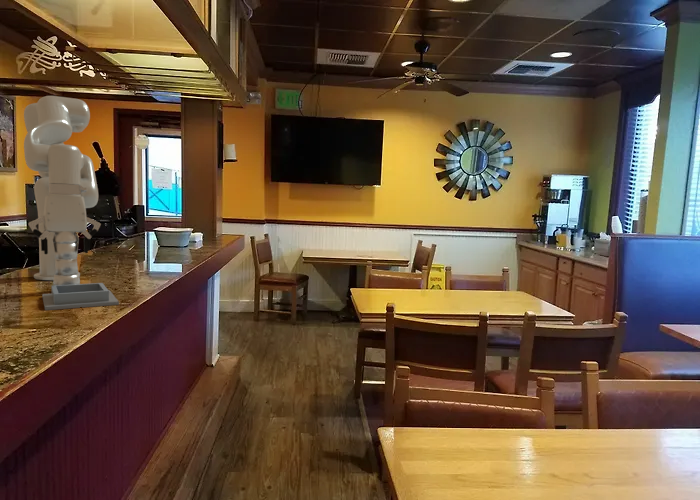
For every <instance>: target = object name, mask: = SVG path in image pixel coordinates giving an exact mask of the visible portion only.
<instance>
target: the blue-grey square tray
mask: <svg viewBox="0 0 700 500" xmlns="http://www.w3.org/2000/svg"><path fill="white" fill-rule="evenodd" d="M42 301H43V302H42V303H43V306H44V310H45V311H51V310H52V311H53V310H66V309H67V310H68V309H69V310H70V309H80V307H82V308H93V307H104V306H105V307H106V306H107V307H108V306H118V305H120V303H119V300H118V299H117V297H116V296H115V295H114V294H113V292H112V291H111V290H110V289H108V288H107V287H106V286H105V284H104V283H103V282H96V283H95V282H94V283H93V282H92V283H80V284H72V285H54V284H53V285H51V293H42Z"/></svg>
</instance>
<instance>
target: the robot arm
mask: <svg viewBox="0 0 700 500" xmlns="http://www.w3.org/2000/svg"><path fill="white" fill-rule="evenodd" d="M23 111H24V112H23V120H24V125H25V128H26V132H27V133H26V135H25V137H24V139H23V140H24V141H23V149H24V154H23V155H24V160H25V164H26V166H27V167H28V168H29V169H30V170H32V171H34V172H38V175H39V176H40V177H41V178H38V179H37V180H36V181H35V183H34V187H33V189H34V190H33V191H34V192H33V193H34V197H35V202H36V208H37V218H36V219H35V220H32V221H29V222H28V226H29V228H30V229H31V231H32V233H33V234H35V235H36V236H37V238H38V247H39V249H38V251H39V252H38V253H39V255H38V256H39V272H37V273H34V274H33V278H34V279H35V280H40V281H53V280H54V275H55V252H54V247H53V242H52V238H53V235H54V234H55V232H63V231H69V232H76V233H81V234H82V235H83V236H84V238H83V253H85V254H88V253H89V251H90V250H91V238H92V237H94V236H95V235H96V234H97V233H98V231H99V229H100V228H101V225H102V223H100V221H99V222H98V221H97V220H95V219H93V218H90V217H88V216H87V209H91V208H94V207H95V206H97V204H98V201H99V188H98V184H97V183H98V182H97V177H96V173H95V166H94V162H93V160H92V158H90V156H88V155H86V154H83V153H82V151H81V150H80V149H79V147H78V146H76V145H72V144H65V142H67V141H68V140H69V139H70V138H71V137H72V134H73V133H82V132H83V131H84V130H85V129H86V128H87V127H88V125H89V123H90V119H91V112H90V107H89V105H88V104H87V103H86V101H84V100H83V99H78V98H73V97H66V96H57V95H46V96H43V97H41V98H39V100H37V102H33V103H30V104H28V105H26V107H25V108H24V110H23ZM88 223H89V224H91V225H93V228H92V229H90V230H89V232H88V231H87V227H88ZM37 225H38V228H37ZM78 274H79V277H81V273H80V272H79V271H78Z"/></svg>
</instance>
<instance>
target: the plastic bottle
mask: <svg viewBox="0 0 700 500" xmlns="http://www.w3.org/2000/svg"><path fill="white" fill-rule="evenodd" d="M52 242H53V247H54V252H55V275H54V280H52V283H53V286H54V285H72V284H81V280H80V279H81V278H80V276H79V274H78V272H79V269H78V268H79V267H78V249H79V242H80V239H79V235H78V234H77V232H69V231H63V232H55V234H54V235H53V238H52Z"/></svg>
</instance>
